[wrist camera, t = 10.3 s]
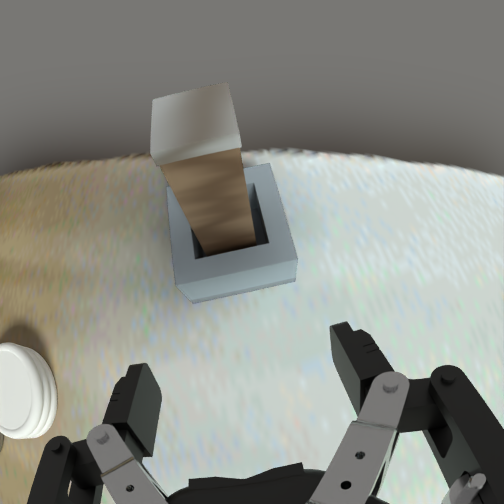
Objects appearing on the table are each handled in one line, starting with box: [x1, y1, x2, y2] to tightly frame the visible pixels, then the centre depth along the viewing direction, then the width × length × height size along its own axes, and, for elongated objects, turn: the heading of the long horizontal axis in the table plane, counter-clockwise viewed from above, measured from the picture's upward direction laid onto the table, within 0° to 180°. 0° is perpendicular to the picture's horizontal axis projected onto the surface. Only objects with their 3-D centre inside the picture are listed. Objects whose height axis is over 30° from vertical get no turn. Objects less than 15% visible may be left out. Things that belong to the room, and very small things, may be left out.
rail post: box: [150, 82, 257, 257], centre depth 22 cm, size 4×4×15 cm
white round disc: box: [0, 342, 57, 439], centre depth 24 cm, size 10×10×4 cm
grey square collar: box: [167, 163, 298, 303], centre depth 27 cm, size 9×9×5 cm
